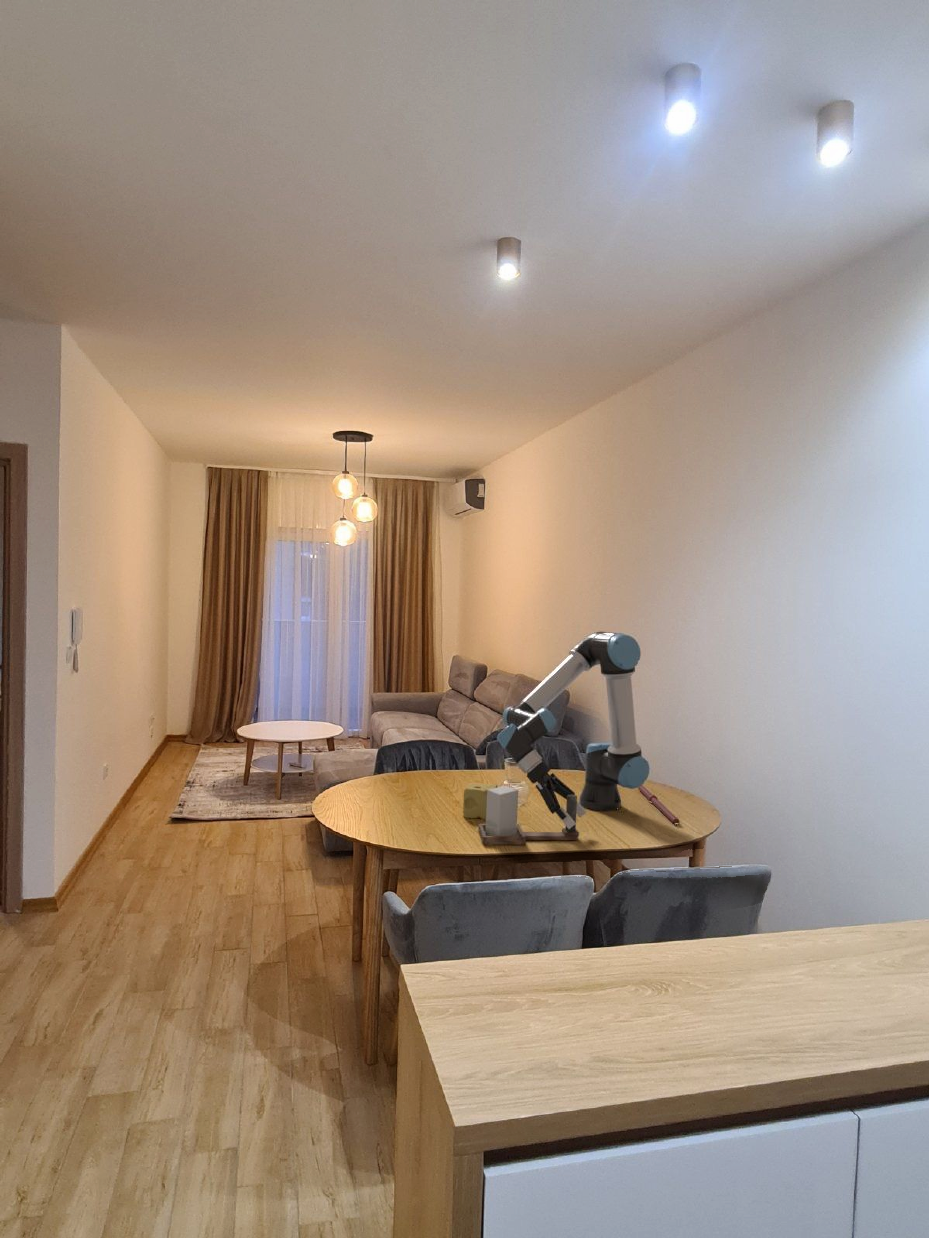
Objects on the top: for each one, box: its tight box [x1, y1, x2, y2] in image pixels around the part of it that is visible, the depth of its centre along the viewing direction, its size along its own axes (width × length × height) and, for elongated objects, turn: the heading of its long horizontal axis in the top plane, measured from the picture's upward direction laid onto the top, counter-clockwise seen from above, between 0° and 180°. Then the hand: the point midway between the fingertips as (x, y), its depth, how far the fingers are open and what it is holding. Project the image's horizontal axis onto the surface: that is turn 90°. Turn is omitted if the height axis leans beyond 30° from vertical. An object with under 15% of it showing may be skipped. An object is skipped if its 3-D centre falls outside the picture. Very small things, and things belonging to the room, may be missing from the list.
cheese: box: [462, 782, 498, 820], centre depth 266 cm, size 10×11×10 cm
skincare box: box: [485, 785, 519, 836], centre depth 242 cm, size 8×7×16 cm
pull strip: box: [477, 794, 580, 845], centre depth 242 cm, size 31×13×13 cm, turn 95°
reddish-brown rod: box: [637, 785, 680, 824], centre depth 285 cm, size 45×3×3 cm, turn 2°
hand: (578, 820), depth 243 cm, fingers open, 13 cm apart
